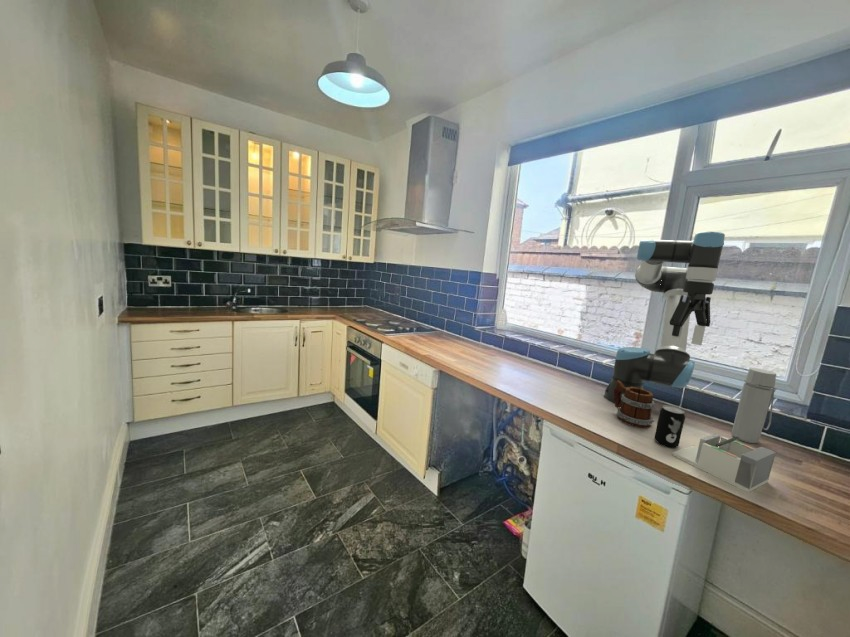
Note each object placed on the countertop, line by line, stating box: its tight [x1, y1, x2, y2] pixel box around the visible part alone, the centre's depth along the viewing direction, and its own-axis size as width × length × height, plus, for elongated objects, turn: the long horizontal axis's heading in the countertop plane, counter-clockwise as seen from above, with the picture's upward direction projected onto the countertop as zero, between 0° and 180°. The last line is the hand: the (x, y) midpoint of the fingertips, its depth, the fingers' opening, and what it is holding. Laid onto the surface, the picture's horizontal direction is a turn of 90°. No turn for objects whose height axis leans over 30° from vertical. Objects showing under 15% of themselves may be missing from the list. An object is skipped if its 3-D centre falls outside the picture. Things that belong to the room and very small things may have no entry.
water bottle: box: [731, 367, 778, 444], centre depth 116 cm, size 9×8×25 cm
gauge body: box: [672, 436, 777, 493], centre depth 97 cm, size 12×18×9 cm, turn 27°
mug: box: [614, 380, 656, 429], centre depth 126 cm, size 12×14×15 cm
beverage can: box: [653, 404, 686, 449], centre depth 110 cm, size 7×7×12 cm
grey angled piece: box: [696, 433, 739, 461], centre depth 98 cm, size 12×7×8 cm, turn 117°
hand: (685, 345), depth 112 cm, fingers open, 13 cm apart
